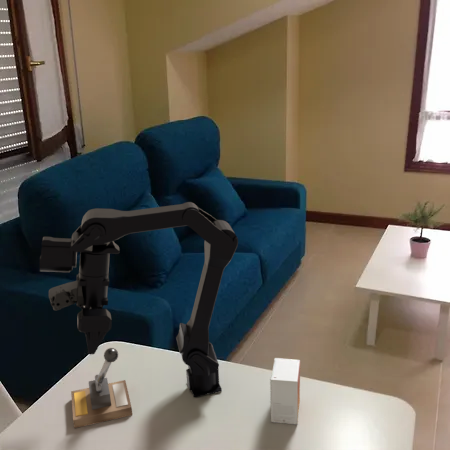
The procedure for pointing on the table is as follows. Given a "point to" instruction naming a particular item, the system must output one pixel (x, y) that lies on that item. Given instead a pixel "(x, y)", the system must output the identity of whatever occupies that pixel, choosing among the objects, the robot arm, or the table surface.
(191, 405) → the table surface
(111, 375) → the table surface
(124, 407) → the switch unit
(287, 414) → the small box
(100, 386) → the lever
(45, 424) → the table surface
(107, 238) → the robot arm
